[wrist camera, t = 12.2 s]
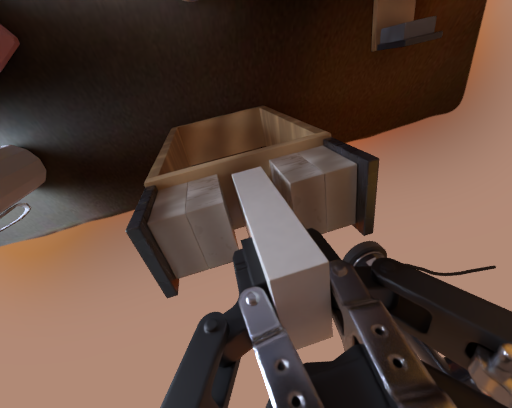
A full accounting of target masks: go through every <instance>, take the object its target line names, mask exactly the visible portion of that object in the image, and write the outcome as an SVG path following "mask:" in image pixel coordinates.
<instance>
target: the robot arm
mask: <svg viewBox="0 0 512 408" xmlns="http://www.w3.org/2000/svg"><path fill="white" fill-rule="evenodd" d="M302 225H303V224H302ZM303 226H304V225H303ZM304 227H305V226H304ZM305 229H306V228H305ZM306 230H307V232H308V233H309V234H310V236H311V237H312V239H313V240H314V241H315V243H316V244H317V246H318V247H319V248H320V250H321V251H322V252H323V254H324V255H325V257H326V258H327V259H328V261H329V270H330V291H331V311H332V318H333V320H334V322H335V325H336V327H337V330H338V332H339V334H340V337H341V339H342V342H343V346H344V350H345V352H344V353H343V354H341V355H340V356H339V357H338V358H336V359H335V360H334V361H329V362H310V363H305V364H303V363H302V361H301V359H300V357H299V355H298V353H297V351H296V349H295V347H294V345H293V343H292V341H291V339H290V337H289V335H288V333H287V331H286V330H285V328H284V327H282V325H281V323H280V321H279V319H278V317H277V315H276V313H275V311H274V308H273V304H272V300H271V296H270V293H269V289H268V285H267V281H266V278H265V275H264V272H263V269H262V266H261V263H260V261H259V258H258V255H257V252H256V249H255V246H254V243H253V240H252V237H250V238H247V239H244V240H241V243H242V246H243V249H240V250H237V251H235V252H234V255H233V263H234V269H235V274H236V279H237V284H238V289H239V298H238V301H237V303H236V304H235V305H234V306H233V307H232V308H231V309H230V310H228V311H227V312H225V313H224V314H222V313H220V312H212V313H209V314H207V315H206V316H204V317H203V318H202V319H201V321H200V322H199V324H198V326H197V328H196V331H195V333H194V335H193V337H192V339H191V341H190V343H189V346H188V348H187V350H186V352H185V355H184V357H183V359H182V361H181V363H180V366H179V368H178V370H177V372H176V374H175V376H174V379H173V381H172V383H171V385H170V388H169V390H168V392H167V394H166V396H165V398H164V401H163V403H162V405H161V407H160V408H228V404H229V400H230V397H231V393H232V389H233V385H234V382H235V378H236V374H237V370H238V367H239V363H240V359H241V357H242V356H243V355H244V354H245V353H247V352H248V351H249V350H251V349H252V348H254V351H255V354H256V357H257V360H258V363H259V366H260V369H261V372H262V375H263V378H264V381H265V384H266V386H267V390H268V393H269V395H270V398H269V401H268V403H267V406H266V408H512V312H511V311H509V310H507V309H505V308H502V307H500V306H498V305H496V304H493V303H491V302H489V301H486V300H484V299H482V298H480V297H477V296H475V295H473V294H470V293H468V292H466V291H463V290H462V289H459V288H457V287H455V286H453V285H450V284H448V283H446V282H443V281H441V280H439V279H437V278H434V277H432V276H430V275H428V274H425V273H423V272H421V271H424V272H427V273H429V274H433V275H439V276H453V275H462V274H467V273H471V272H477V271H483V270H488V269H494V268H496V267H495V266H489V267H484V268H477V269H471V270H466V271H461V272H454V273H438V272H433V271H430V270H427V269H425V268H421V267H417V266H413V265H410V264H403V263H400V262H398V261H396V260H394V259H391V258H385V257H384V255H383V254H382V253H381V252H379V251H376V250H372V251H368V252H365V253H363V254H361V255H360V256H359V257H358V258H357V259H356V260H355V261H354V262H353V264H352V265H351V264H350V263H348V262H346V261H344V260H341V259H340V258H339V256H338V255H337V254H336V253H335V251H334V250H333V249H332V248H331V246H330V245H329V244H328V243H327V241H326V240H325V239H324V238H323V236H322V235H321V234H320V232H319V231H317V230H315V229H313V228H309V229H306ZM416 269H417V270H416ZM419 270H421V271H419ZM438 352H439V353H441V354H443V355H444V356H446V357H444V358H443V357H441V356H440V355H439V354H438ZM417 355H418V356H417ZM419 358H420V359H421V360H420V359H419Z"/></svg>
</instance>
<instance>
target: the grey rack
mask: <svg viewBox="0 0 512 408" xmlns="http://www.w3.org/2000/svg"><path fill="white" fill-rule="evenodd" d="M415 4H416V0H374V7H373V27H372V46H371V51H377V50H384V49H391V48H397V47H404V46H408V45H413V44H417V43H421V42H425V41H429V40H434V39H438V38H441V37H442V34H443V31H439V32H434V29H435V23H436V17H437V16H432V17H428V18H423V19H419V20H415V21H413V20H414V12H415Z"/></svg>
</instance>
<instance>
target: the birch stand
mask: <svg viewBox="0 0 512 408" xmlns="http://www.w3.org/2000/svg"><path fill="white" fill-rule="evenodd" d="M320 132H324V130H321V129H319V128H316V127H314V126H312V125H309V124H307V123H304V122H302V121H300V120H297V119H295V118H292V117H290V116H288V115H285V114H283V113H280V112H278V111H276V110H273V109H271V108H268V107H266V106H264V105H262V106H258V107H254V108H250V109H246V110H242V111H238V112H234V113H230V114H226V115H222V116H218V117H214V118H210V119H206V120H202V121H198V122H194V123H189V124H185V125H181V126H177V127H173V128H171V130H170V132H169V134H168V136H167V138H166V140H165V142H164V144H163V146H162V148H161V150H160V152H159V154H158V156H157V158H156V160H155V162H154V164H153V166H152V168H151V170H150V172H149V174H148V176H147V178H146V179H148V178H151V177H155V176H159V175H163V174H166V173H170V172H174V171H178V170H181V169H185V168H189V167H191V166H192V165H196V164H199V163H203V162H207V161H211V160H214V159H218V158H222V157H226V156H229V155H233V154H237V153H241V152H244V151H248V150H252V149H256V148H259V147H263V146H271V145H275V144H279V143H282V142H286V141H290V140H294V139H297V138H301V137H305V136H309V135H312V134H316V133H320Z"/></svg>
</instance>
